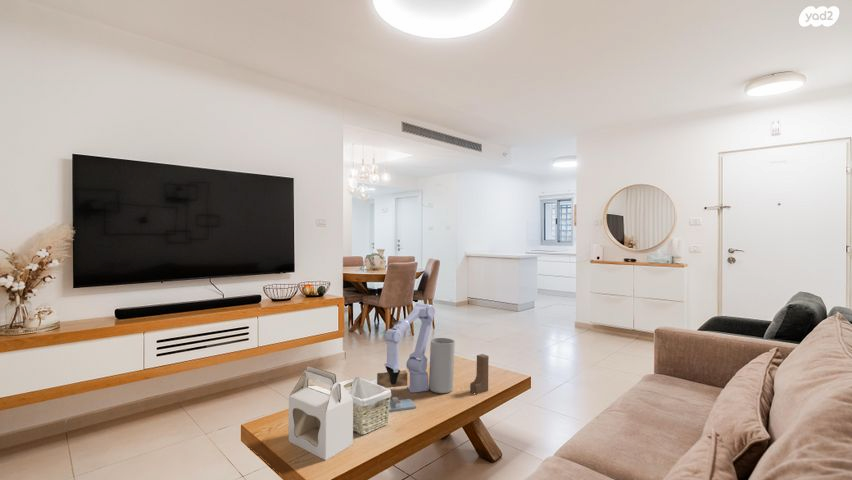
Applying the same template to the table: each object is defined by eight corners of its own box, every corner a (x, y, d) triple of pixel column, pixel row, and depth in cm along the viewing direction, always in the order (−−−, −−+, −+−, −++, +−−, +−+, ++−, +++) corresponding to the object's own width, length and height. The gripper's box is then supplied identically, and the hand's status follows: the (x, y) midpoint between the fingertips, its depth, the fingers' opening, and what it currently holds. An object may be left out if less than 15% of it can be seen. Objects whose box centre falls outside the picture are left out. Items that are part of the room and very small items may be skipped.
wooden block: (476, 394, 195) (476, 358, 195) (469, 391, 198) (470, 356, 198) (488, 390, 200) (488, 355, 200) (482, 387, 204) (482, 353, 204)
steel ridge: (397, 401, 184) (397, 396, 184) (400, 407, 178) (400, 402, 178) (392, 401, 183) (392, 397, 183) (395, 407, 177) (395, 403, 177)
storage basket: (327, 418, 168) (327, 384, 168) (358, 407, 180) (358, 375, 180) (361, 438, 152) (361, 401, 152) (392, 424, 163) (393, 389, 163)
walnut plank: (405, 382, 192) (405, 370, 192) (407, 385, 188) (407, 373, 188) (377, 385, 187) (377, 373, 187) (378, 388, 184) (378, 376, 184)
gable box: (287, 441, 149) (288, 368, 149) (315, 427, 160) (316, 359, 160) (325, 461, 136) (326, 381, 136) (353, 445, 147) (354, 371, 147)
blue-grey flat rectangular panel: (410, 400, 187) (410, 398, 187) (415, 408, 179) (415, 406, 179) (377, 404, 182) (377, 402, 182) (381, 413, 174) (381, 410, 174)
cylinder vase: (453, 394, 195) (455, 344, 195) (428, 393, 195) (430, 343, 196) (452, 385, 207) (454, 338, 208) (429, 384, 208) (430, 337, 208)
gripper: (381, 351, 193) (381, 378, 193) (387, 359, 179) (387, 389, 180) (395, 349, 195) (395, 376, 195) (402, 358, 182) (402, 387, 182)
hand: (392, 382), depth 188 cm, fingers closed on walnut plank, 4 cm apart
